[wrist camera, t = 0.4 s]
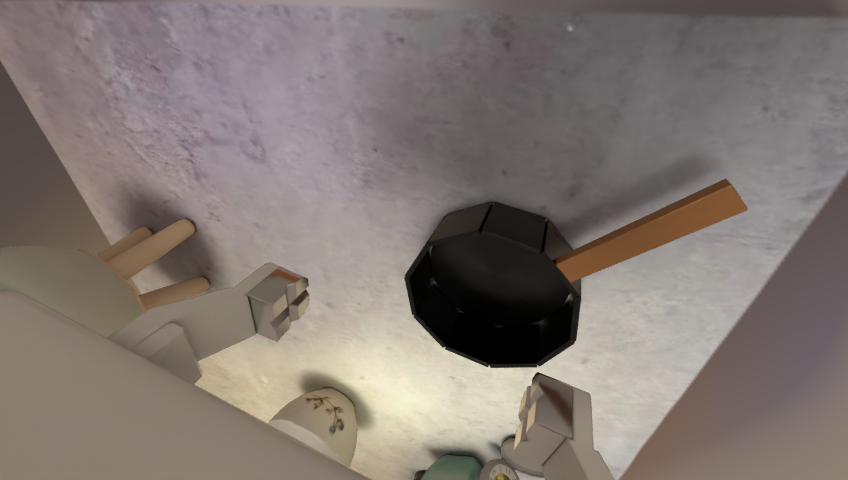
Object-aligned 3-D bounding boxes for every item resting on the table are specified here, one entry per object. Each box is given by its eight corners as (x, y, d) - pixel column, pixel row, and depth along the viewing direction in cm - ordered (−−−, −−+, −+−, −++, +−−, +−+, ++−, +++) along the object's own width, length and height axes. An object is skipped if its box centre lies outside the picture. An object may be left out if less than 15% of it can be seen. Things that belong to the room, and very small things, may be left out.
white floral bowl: (317, 359, 46) (276, 411, 40) (388, 412, 47) (359, 472, 40) (290, 394, 56) (253, 441, 49) (350, 438, 56) (321, 491, 50)
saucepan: (647, 71, 18) (666, 82, 14) (763, 247, 20) (805, 296, 16) (399, 247, 31) (375, 277, 27) (487, 344, 33) (476, 383, 29)
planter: (230, 313, 49) (34, 476, 31) (140, 254, 49) (-101, 381, 32) (235, 236, 39) (-48, 412, 21) (123, 164, 39) (-242, 276, 22)
